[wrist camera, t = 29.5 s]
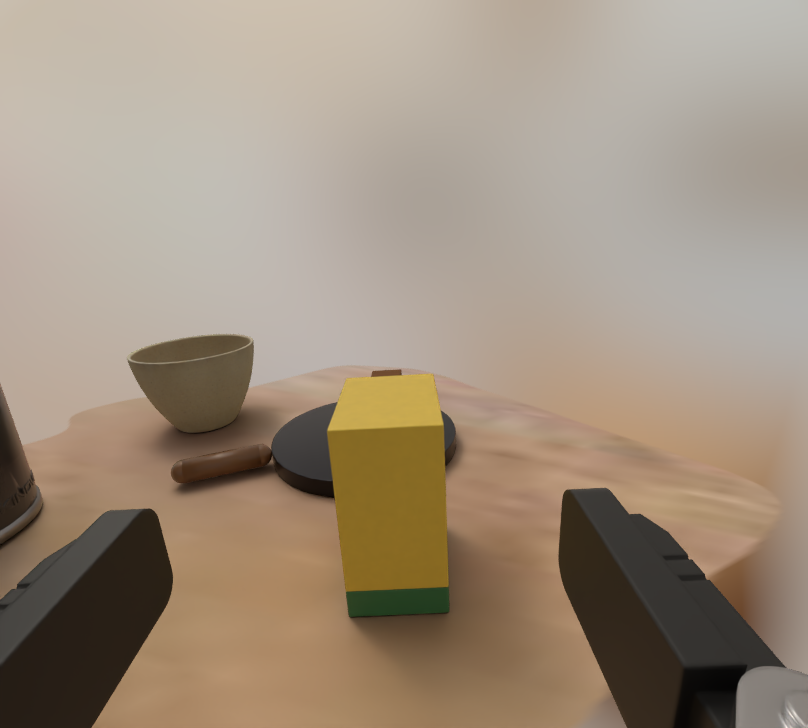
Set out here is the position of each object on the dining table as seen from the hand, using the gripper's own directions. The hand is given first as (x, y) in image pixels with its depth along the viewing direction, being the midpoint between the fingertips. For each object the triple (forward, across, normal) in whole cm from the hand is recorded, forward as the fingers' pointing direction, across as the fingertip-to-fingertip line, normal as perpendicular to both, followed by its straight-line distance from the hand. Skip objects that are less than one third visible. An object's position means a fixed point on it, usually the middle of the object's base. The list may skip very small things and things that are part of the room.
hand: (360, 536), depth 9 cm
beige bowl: (+30, +18, +11) cm, 36 cm away
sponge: (+11, 0, +10) cm, 15 cm away
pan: (+22, +6, +10) cm, 25 cm away
